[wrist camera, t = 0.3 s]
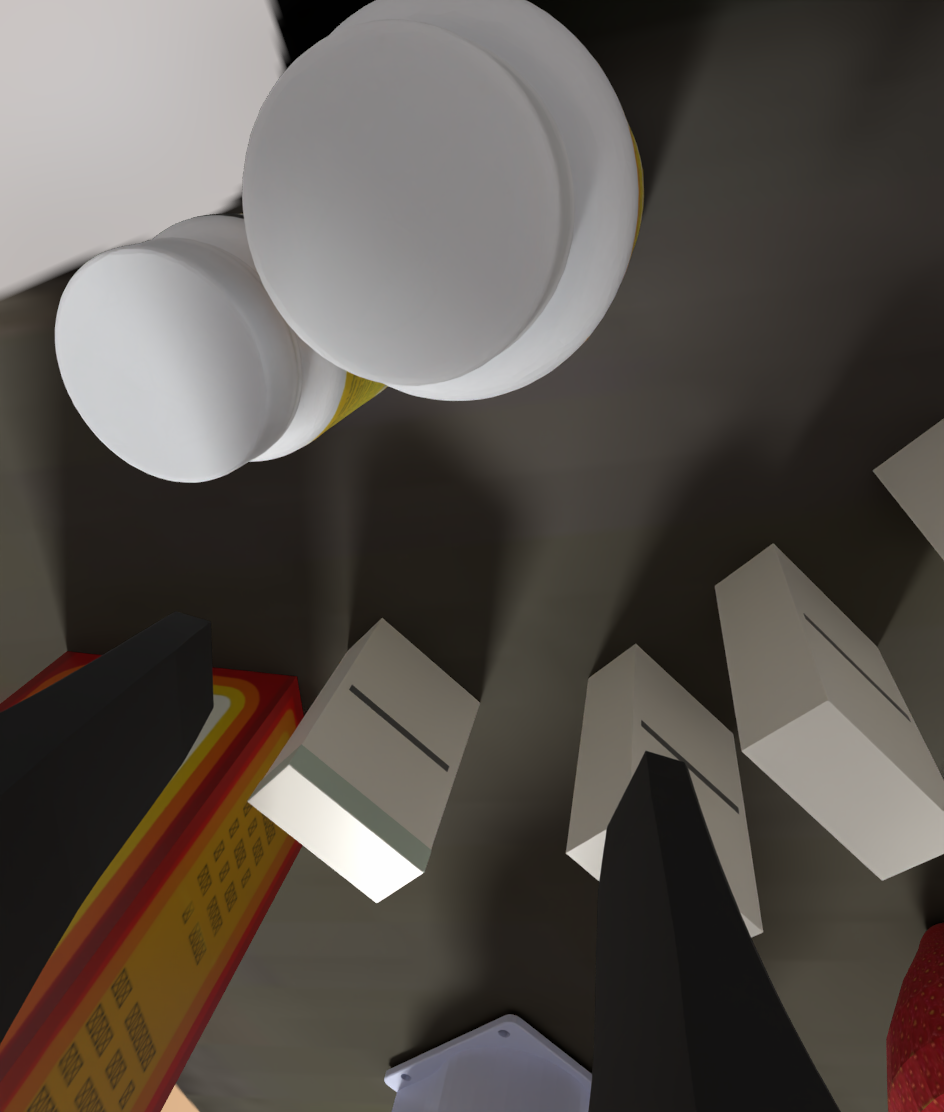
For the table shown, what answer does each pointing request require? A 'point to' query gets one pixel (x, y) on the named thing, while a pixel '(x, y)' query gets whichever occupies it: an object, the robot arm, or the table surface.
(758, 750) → the domino
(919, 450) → the domino
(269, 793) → the domino head
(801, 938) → the table surface
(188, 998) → the baking soda box
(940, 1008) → the strawberry
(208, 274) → the supplement bottle
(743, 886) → the domino
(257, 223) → the supplement bottle
